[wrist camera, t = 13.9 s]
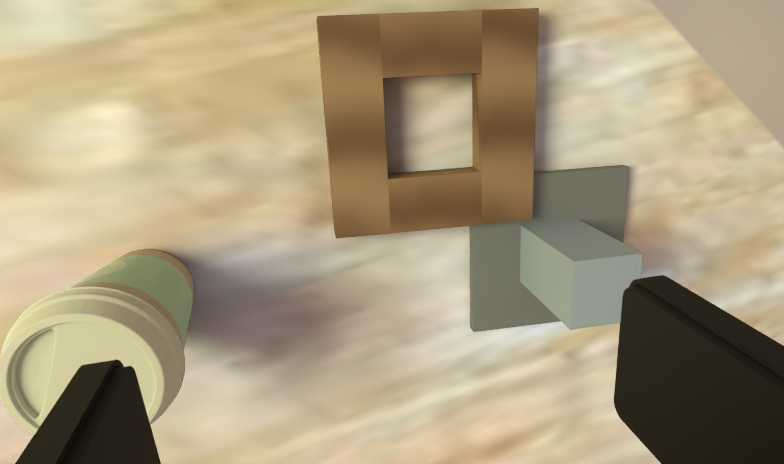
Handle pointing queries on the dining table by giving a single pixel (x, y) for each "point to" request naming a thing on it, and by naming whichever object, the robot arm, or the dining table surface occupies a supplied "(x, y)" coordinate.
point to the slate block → (577, 271)
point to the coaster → (550, 204)
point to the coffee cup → (101, 335)
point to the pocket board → (423, 58)
